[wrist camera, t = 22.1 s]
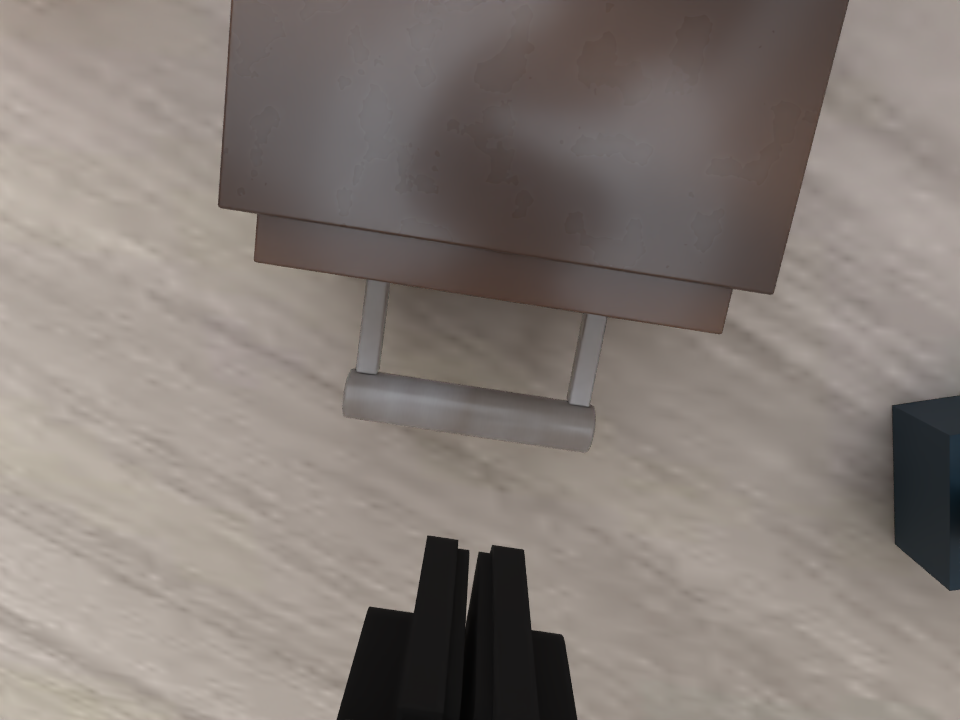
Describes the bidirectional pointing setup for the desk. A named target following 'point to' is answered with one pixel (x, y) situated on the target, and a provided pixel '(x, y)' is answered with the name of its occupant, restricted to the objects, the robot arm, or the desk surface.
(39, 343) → the desk surface
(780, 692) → the desk surface
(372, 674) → the robot arm
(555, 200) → the cabinet
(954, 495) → the watch
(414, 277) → the drawer
